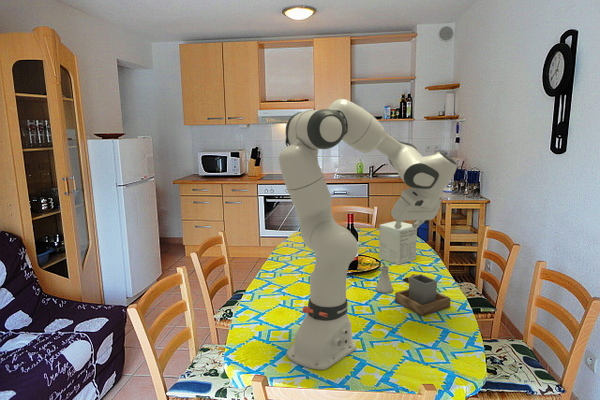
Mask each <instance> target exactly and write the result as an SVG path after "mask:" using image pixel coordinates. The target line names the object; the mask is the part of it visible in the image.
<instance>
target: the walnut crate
mask: <svg viewBox="0 0 600 400" xmlns="http://www.w3.org/2000/svg"><path fill="white" fill-rule="evenodd" d="M394 293H395V294H394V297H395V298H394V301H395V303H397V304H398V305H401V306H403V307H404V308H406V309H408V310H410V311H411V312H413V313H416V314H417V315H418V316H420V317H424V316H427V315H429V314H433V313H436V312H439V311H443V310H445V309H449V308H451V298H450V297H448V296H447V295H445V294H443V293H440V292H438V291H437V293H436V301H435V302H431V303H428V304H425V305H421V304H419V303H417V302H415V301H413V300H411V299H409V288H407V289H404V290H401V291H397V292H394Z"/></svg>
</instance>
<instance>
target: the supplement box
mask: <svg viewBox="0 0 600 400" xmlns="http://www.w3.org/2000/svg"><path fill="white" fill-rule="evenodd" d="M395 224H396V220H394V221H390V222H386V223H385V222H384V223H382V224H379V237H378V238H379V239H378V241H379V244H378V246H379V248H378V251H379V252H378V258H379V259H381V260H384V261H387V262H389V263H393V264H395V265H402V264H406V263H408V262H412V261H414V260H415V261H416V259H417V237H418V235H417V234H418V233H417V232H418V228H417V229H414V228H413V227H412V225H413V223H408V222H404V221H403V222H401V225H402V227H401V228H400V229H396V228H395V227H394V226H395Z"/></svg>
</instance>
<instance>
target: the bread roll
mask: <svg viewBox="0 0 600 400" xmlns="http://www.w3.org/2000/svg"><path fill="white" fill-rule="evenodd" d="M416 275H417V274H411V275H410V276H409V277H412V276H416ZM409 277H404V278H403V279H402V280H403V281H402V282H403V283H406V284H409Z"/></svg>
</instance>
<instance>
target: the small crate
mask: <svg viewBox="0 0 600 400" xmlns="http://www.w3.org/2000/svg"><path fill="white" fill-rule="evenodd" d="M415 275H416V276H412V275H411V276H412V277H410V276H408V278H409V283H408V289H409V299H411V300H413V301H415V302H417V303H419V304H421V305H425V304H428V303H431V302H435V301H436V293H437V292H438V291H437V290H438V288H437V287H438V280H436V279H434V278H431V277H428V276H426V275H424V274H422V273H420V274H415Z"/></svg>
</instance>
